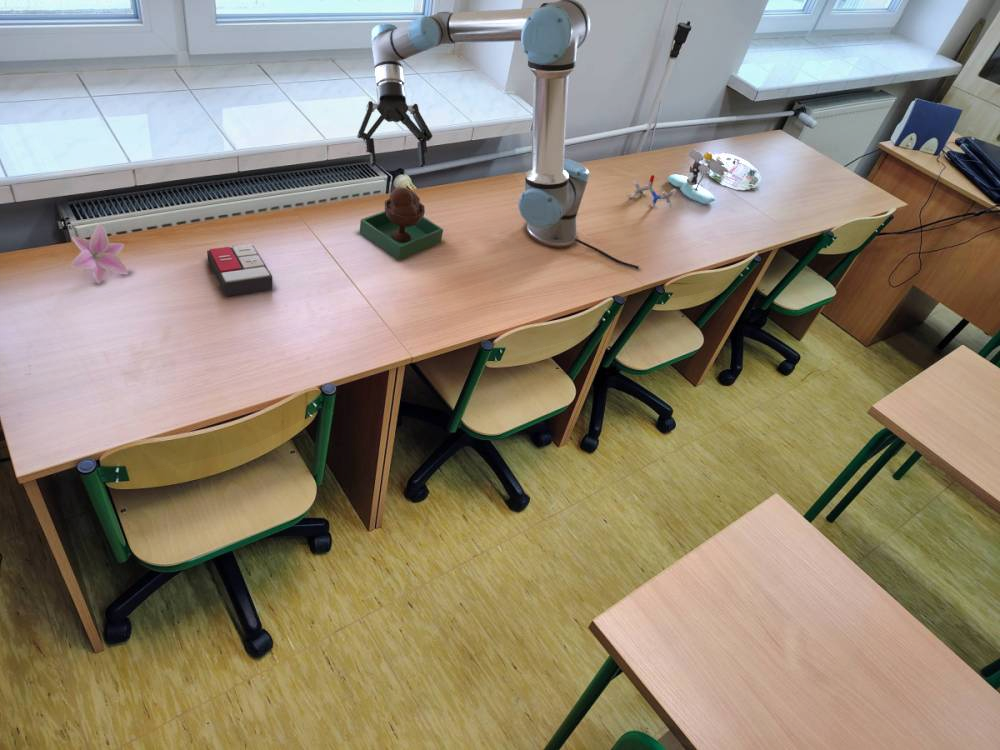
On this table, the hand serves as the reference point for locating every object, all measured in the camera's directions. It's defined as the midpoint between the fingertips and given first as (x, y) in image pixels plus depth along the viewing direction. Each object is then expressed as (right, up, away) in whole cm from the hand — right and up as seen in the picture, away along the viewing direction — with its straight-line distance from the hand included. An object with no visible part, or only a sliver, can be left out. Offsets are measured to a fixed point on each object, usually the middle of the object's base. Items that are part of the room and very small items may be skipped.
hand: (398, 165), depth 191 cm
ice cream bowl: (0, -19, +5) cm, 19 cm away
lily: (-63, -34, -31) cm, 77 cm away
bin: (0, -19, +5) cm, 19 cm away
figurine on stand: (+96, +10, +66) cm, 117 cm away
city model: (+117, +21, +85) cm, 146 cm away
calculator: (-35, -33, -21) cm, 52 cm away
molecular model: (+78, +2, +52) cm, 94 cm away
